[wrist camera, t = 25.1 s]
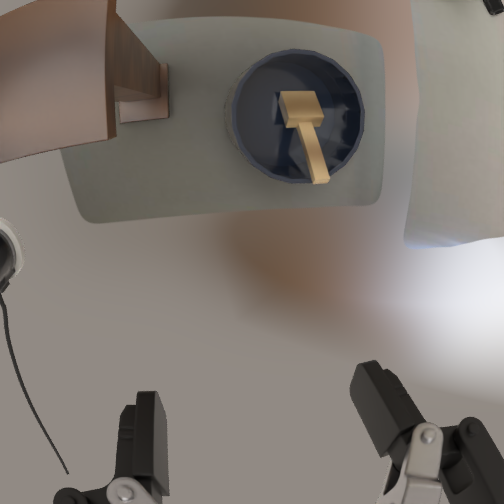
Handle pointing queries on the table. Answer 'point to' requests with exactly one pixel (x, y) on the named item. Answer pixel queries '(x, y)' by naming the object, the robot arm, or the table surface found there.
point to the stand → (72, 76)
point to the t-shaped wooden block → (306, 128)
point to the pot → (271, 120)
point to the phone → (494, 6)
